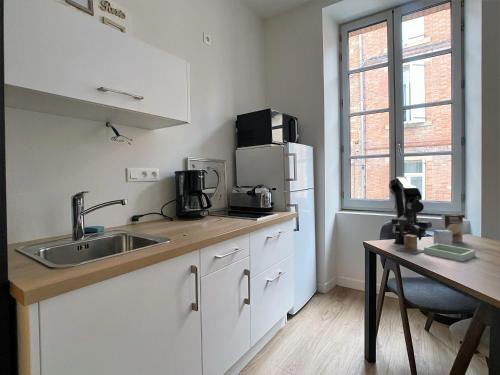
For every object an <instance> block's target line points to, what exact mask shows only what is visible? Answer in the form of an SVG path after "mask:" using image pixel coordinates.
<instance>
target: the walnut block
mask: <svg viewBox="0 0 500 375" xmlns="http://www.w3.org/2000/svg"><path fill="white" fill-rule="evenodd" d="M403 248H404V250H407V251H412V252H413V251H417V249H418V235H416V234H415V235H414V234H408V235H404V245H403Z"/></svg>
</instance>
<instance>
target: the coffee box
mask: <svg viewBox="0 0 500 375" xmlns="http://www.w3.org/2000/svg"><path fill="white" fill-rule="evenodd" d="M463 217H464V216H463V215H461V214H456V213H455V214H454V213H453V214H452V213H451V214H450V213H449V214H448V213H441V230H449V231H452V243H453V242H454V243H463V234H464V233H463V232H464V231H463V226H464V224H463V223H464V222H463V221H464V220H463V219H464V218H463Z"/></svg>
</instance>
